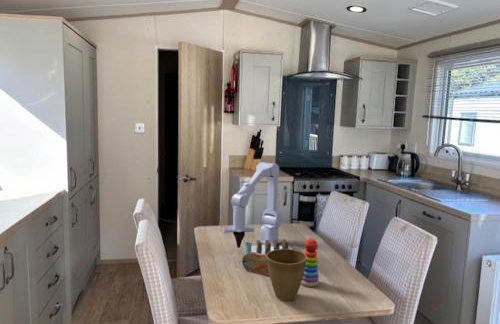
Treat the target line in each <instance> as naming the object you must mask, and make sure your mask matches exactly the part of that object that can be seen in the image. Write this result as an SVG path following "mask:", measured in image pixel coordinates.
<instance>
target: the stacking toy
mask: <svg viewBox="0 0 500 324" xmlns="http://www.w3.org/2000/svg"><path fill="white" fill-rule="evenodd" d="M304 247H305V250H304V252H303V253H304V254H305V255H306V256H307V260H306V266H305V270H304V275H303V278H302V282H301V285H302V286H305V287H309V288H312V287H316V286H318V285H319V282H320V280H319V278H320V277H319V276H320V275H319V266H318V264H319V263H318V256H317V255H318V252H317V249H318V242H317V240H315V239H314V238H308V239H306V241H305V242H304Z"/></svg>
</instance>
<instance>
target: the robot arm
mask: <svg viewBox="0 0 500 324" xmlns="http://www.w3.org/2000/svg"><path fill="white" fill-rule="evenodd" d="M255 167H256V168H255V172H254V174H253V175H252V177H251V178H250V180H249V181H248V182H245V183H244V184H243V186H242V187H241V188H240V190H238V192H237V193H234V194H233V195H232V197H231V200H230V203H231V205H232V206H231V207H232V210H233V212H232V213H233V214H232V219H233V220H232V226H230V227H223V233H224V234H228V233H229V234H231V233H233V235H234V239H235V242H236V243H235V244H236V247H237V248H238V249H240V248H241V245H242V242H243V240H244V237H245V236H246V233H255V227H253V226H252V227H251V226H246V207H247V206H248V205H249V201H250V197H251V196H252V195H253V193H254V192H255V191H256V186H257V185H258V183H259V182H260V181H261V180H262V179H263V178H264V177H265V179H267V196H266V198H267V201H266V202H267V203H266V206H267V207H266V208H265V210H263V211H262V212H263V213H262V217H261V221H262V222H261V223H262V224H263V225H261V227H260V231H259V233H260V236H259V240H260V241H261V243H262V244H265V240H269V241H270V243H271V246H273V247H274V240H278V242H279V243H281V244H282V240H279V231H280V229H279V228H280V227H281V226H282V224H283V216H282V214H283V213H282V212H281V210H280V209H278V196H279V195H278V192H279V191H278V190H279V188H278V186H279V178H280V166H279V165H278V164H277V163H275V162H274V163H271V162H264V161H260V162H259V163H258V164H257V165H256V166H255Z"/></svg>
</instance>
